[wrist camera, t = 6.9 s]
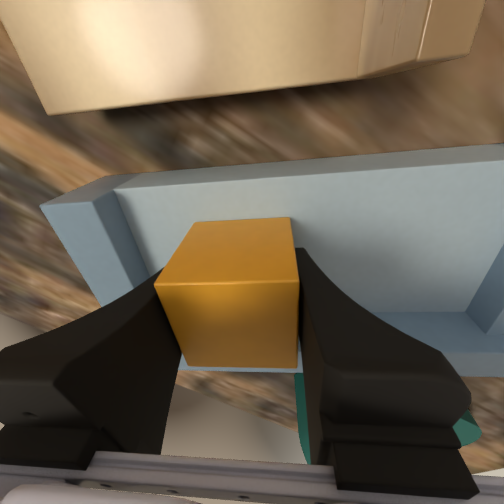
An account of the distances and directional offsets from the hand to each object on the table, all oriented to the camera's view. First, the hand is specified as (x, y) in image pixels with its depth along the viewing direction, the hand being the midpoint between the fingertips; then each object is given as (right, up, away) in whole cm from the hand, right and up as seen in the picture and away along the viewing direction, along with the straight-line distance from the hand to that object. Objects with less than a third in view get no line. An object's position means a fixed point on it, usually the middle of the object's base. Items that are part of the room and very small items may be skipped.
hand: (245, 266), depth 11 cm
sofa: (+3, +1, +3) cm, 5 cm away
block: (0, 0, +1) cm, 1 cm away
